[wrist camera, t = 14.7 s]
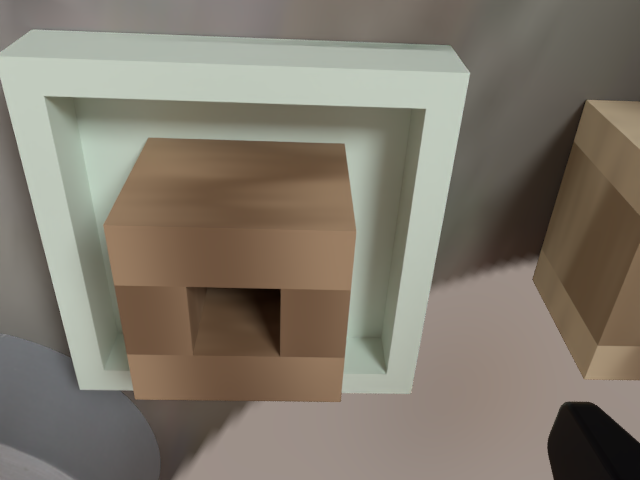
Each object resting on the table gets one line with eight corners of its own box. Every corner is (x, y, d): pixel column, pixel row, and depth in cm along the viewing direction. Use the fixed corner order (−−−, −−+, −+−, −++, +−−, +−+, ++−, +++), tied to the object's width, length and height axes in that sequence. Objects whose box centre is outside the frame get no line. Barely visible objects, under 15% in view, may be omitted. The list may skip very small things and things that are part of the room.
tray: (450, 45, 18) (469, 73, 16) (401, 346, 24) (410, 394, 22) (32, 29, 17) (-6, 56, 15) (99, 341, 24) (79, 389, 22)
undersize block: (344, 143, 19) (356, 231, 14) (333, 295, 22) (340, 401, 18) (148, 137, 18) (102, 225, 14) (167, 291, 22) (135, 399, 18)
